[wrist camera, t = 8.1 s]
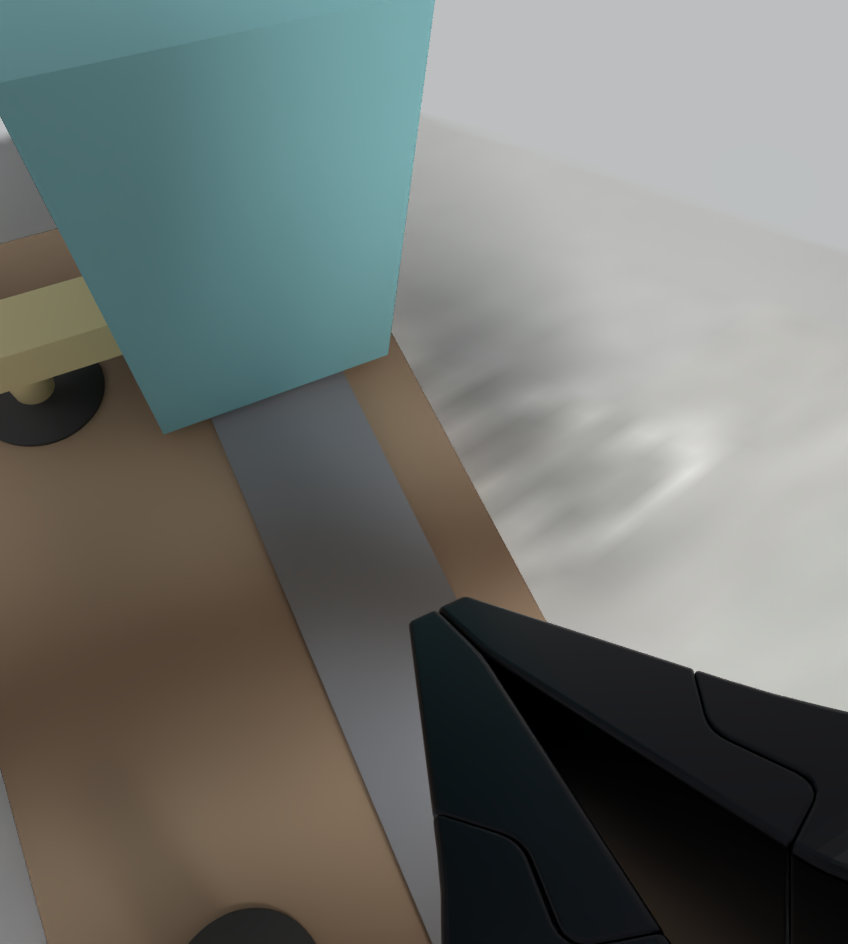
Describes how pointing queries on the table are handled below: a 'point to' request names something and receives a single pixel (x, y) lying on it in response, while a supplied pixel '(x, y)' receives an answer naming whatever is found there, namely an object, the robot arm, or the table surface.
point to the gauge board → (227, 650)
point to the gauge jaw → (212, 189)
